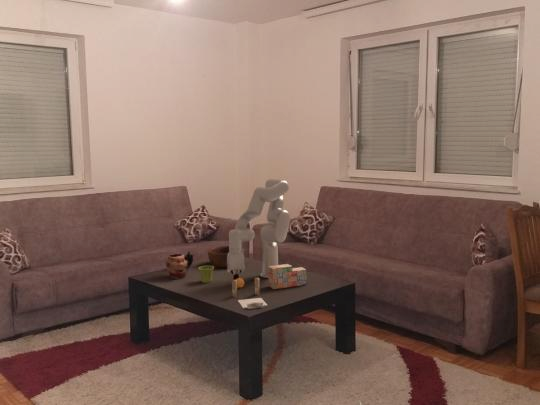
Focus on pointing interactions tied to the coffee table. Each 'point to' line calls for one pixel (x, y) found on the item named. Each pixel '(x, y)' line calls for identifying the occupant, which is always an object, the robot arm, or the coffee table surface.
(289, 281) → the stack of blocks
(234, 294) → the post
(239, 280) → the ball
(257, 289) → the post
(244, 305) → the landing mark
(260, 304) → the stopper wall
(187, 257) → the controller
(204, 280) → the plant pot
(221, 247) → the wooden bowl
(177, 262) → the decorative planter
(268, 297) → the coffee table surface
